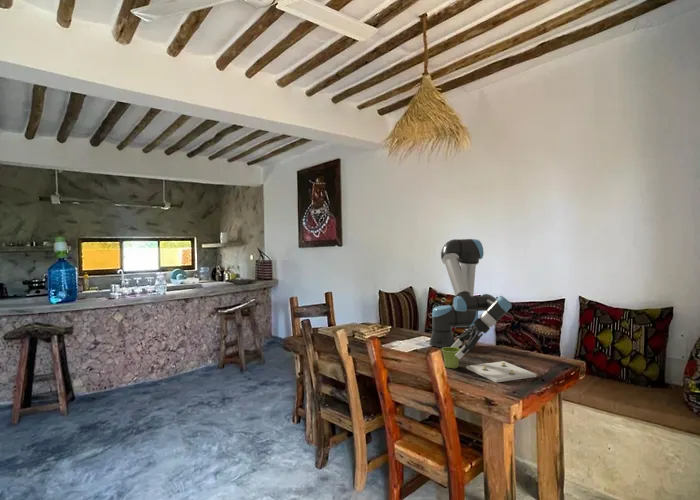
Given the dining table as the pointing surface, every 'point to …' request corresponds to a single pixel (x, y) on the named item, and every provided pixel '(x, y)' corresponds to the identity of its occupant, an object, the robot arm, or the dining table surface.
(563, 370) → the dining table surface
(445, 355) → the plant pot
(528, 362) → the dining table surface
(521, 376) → the pin board
